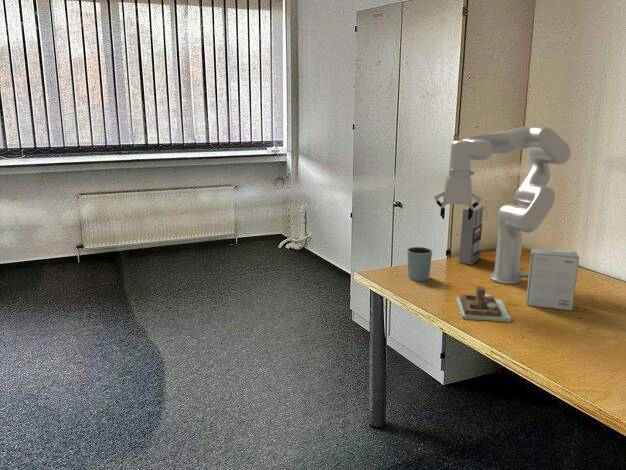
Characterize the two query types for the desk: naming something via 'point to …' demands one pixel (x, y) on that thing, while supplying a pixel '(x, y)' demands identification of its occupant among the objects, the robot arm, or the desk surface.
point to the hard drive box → (552, 279)
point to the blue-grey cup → (419, 263)
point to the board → (492, 318)
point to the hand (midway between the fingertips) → (455, 218)
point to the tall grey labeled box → (471, 235)
